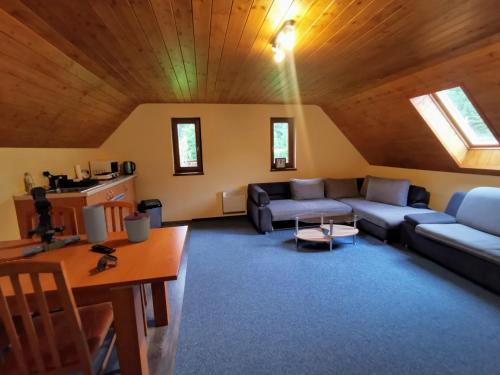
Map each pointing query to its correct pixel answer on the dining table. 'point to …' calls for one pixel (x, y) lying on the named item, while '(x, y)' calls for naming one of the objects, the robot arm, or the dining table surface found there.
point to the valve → (51, 245)
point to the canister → (137, 226)
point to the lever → (47, 241)
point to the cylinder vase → (95, 223)
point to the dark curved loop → (103, 261)
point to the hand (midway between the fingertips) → (49, 243)
